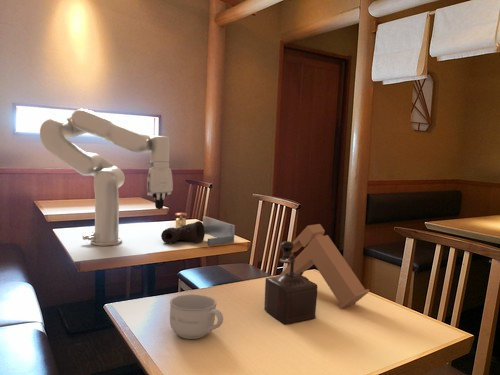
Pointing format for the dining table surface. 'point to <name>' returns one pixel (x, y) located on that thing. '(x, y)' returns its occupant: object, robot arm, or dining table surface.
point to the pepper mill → (290, 293)
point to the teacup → (194, 315)
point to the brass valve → (180, 220)
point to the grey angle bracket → (218, 231)
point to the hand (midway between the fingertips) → (159, 208)
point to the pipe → (184, 233)
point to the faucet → (327, 265)
